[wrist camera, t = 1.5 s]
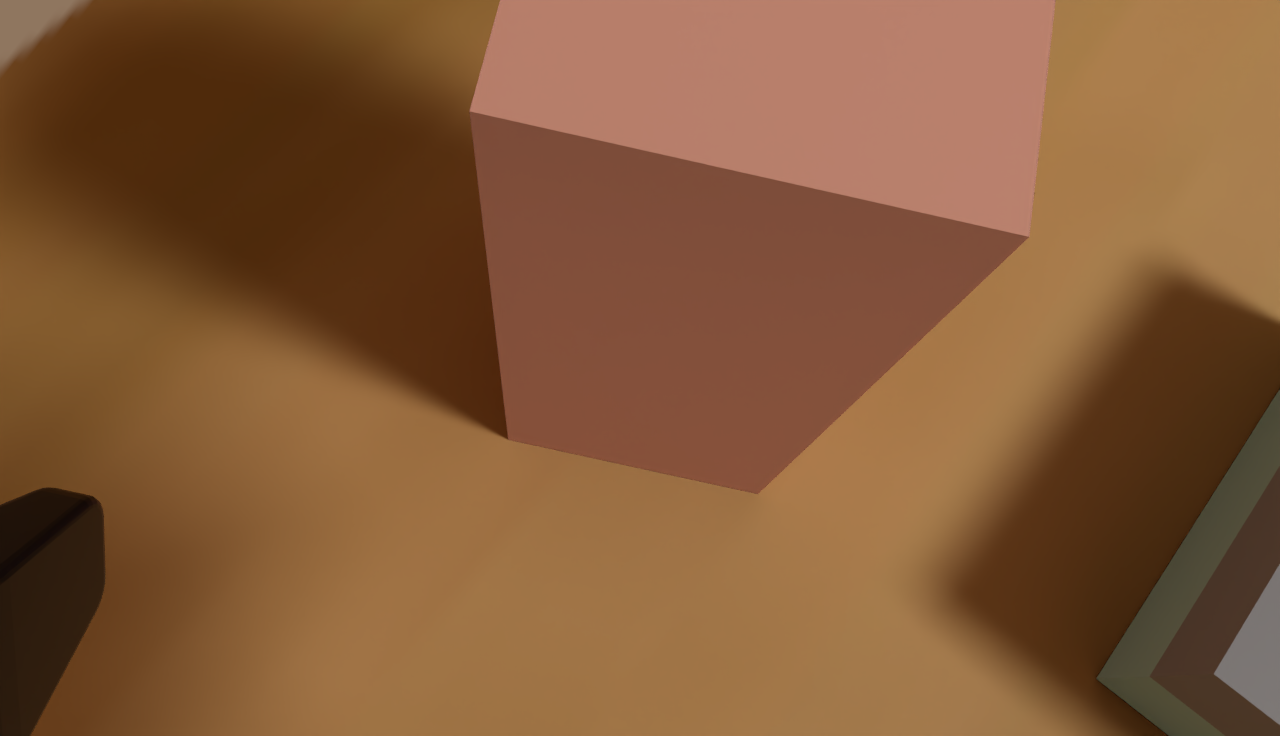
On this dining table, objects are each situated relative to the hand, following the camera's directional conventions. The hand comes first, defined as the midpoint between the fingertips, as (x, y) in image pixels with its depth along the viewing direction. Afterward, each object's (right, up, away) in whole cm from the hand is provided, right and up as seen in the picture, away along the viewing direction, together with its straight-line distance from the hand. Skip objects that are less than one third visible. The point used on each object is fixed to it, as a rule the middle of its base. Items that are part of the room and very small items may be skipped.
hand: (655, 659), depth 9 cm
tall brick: (0, +3, +14) cm, 14 cm away
